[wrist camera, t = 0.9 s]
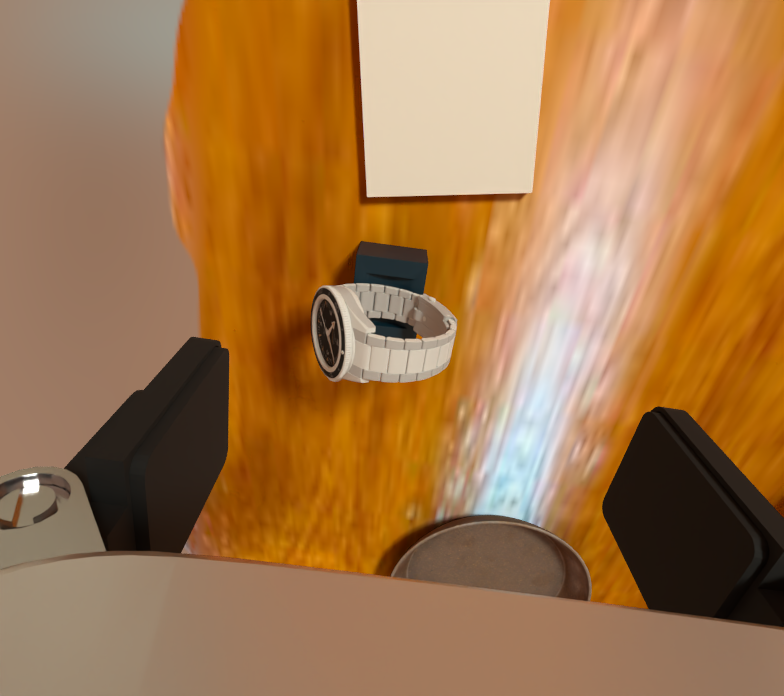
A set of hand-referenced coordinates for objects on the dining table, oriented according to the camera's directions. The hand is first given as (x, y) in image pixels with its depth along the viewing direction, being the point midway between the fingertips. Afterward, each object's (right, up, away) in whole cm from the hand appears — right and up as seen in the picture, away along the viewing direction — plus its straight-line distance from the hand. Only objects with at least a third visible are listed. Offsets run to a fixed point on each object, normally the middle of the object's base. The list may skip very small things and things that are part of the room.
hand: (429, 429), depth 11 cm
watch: (-1, +6, +23) cm, 24 cm away
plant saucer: (+8, -19, +35) cm, 40 cm away
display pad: (+2, +17, +17) cm, 24 cm away
